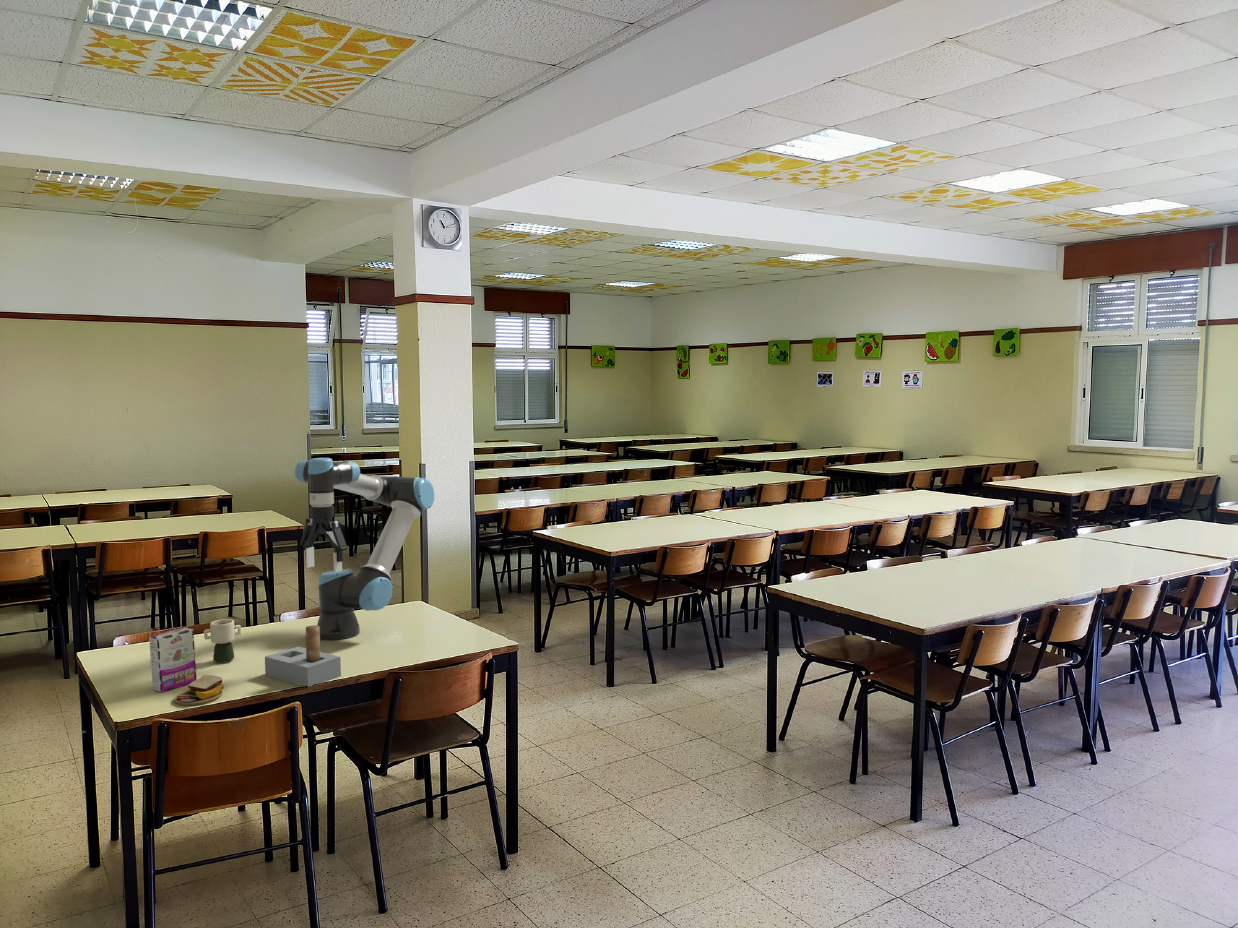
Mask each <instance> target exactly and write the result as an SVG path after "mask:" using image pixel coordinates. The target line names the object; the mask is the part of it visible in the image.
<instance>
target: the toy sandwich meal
mask: <svg viewBox="0 0 1238 928" xmlns="http://www.w3.org/2000/svg"><path fill="white" fill-rule="evenodd" d="M223 682H224V681H223V678H222V677H221V676H219V675H212V674H211V675H210V674H209V675H207V674H206V675H205V674H204V675H202V676H201V677H199V678H197V680H196V681H194V682H192V683H190V684H188V685H187V688H188V690H185V691H182V692H179V693H178V694H176V695H175V696H174V698H173V701H175V702H176V703H178V705H182V706H196V705H204V704H208V702H209V703H211V702H214V701H216V700H218V699H219V698H220V697H221V696H222V695H223V689H224V684H223Z"/></svg>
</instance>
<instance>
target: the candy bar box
mask: <svg viewBox="0 0 1238 928" xmlns="http://www.w3.org/2000/svg"><path fill="white" fill-rule="evenodd" d="M148 639H149V651H150V652H149V653H150V668H151V684H152V690H153V691H155V692H158V693H161V694H162V693H165V692H169V691H172V690H175V689H178V688H181V687H184V686H188V685H189V684H190V683H192V682H194V681H196V680H198V678H197V666H196V665H197V664H196V651H195V649H196V647H195V634H194V628H189V627H185V626H184V627H181V628H177V629H173V630H168V631H165V632H161V633H157V634H154V635H153V634H152V635H150V636H149V637H148Z"/></svg>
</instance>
